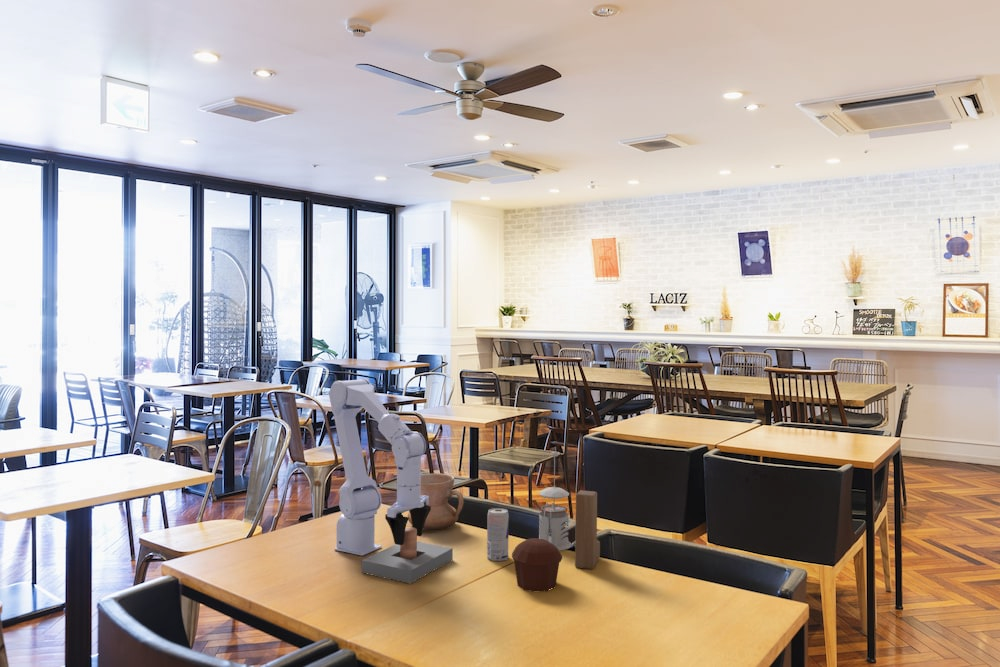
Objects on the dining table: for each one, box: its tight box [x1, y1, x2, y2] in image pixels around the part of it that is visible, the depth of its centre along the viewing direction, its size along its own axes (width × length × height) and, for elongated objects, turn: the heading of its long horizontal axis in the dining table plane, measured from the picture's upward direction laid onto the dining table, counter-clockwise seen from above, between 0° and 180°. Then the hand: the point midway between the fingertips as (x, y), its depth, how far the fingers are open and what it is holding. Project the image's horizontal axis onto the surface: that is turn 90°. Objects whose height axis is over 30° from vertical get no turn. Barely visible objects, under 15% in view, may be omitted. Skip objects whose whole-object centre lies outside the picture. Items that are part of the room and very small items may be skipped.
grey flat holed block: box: [361, 541, 454, 584], centre depth 173 cm, size 14×18×3 cm
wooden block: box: [574, 489, 601, 570], centre depth 176 cm, size 9×4×18 cm, turn 161°
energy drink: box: [486, 507, 510, 562], centre depth 179 cm, size 5×5×12 cm
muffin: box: [511, 537, 563, 592], centre depth 162 cm, size 12×11×10 cm
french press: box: [538, 451, 572, 551], centre depth 189 cm, size 10×12×25 cm
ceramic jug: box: [407, 473, 465, 531], centre depth 205 cm, size 18×14×14 cm
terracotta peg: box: [400, 526, 418, 560], centre depth 173 cm, size 4×4×9 cm
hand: (408, 539), depth 173 cm, fingers open, 7 cm apart
